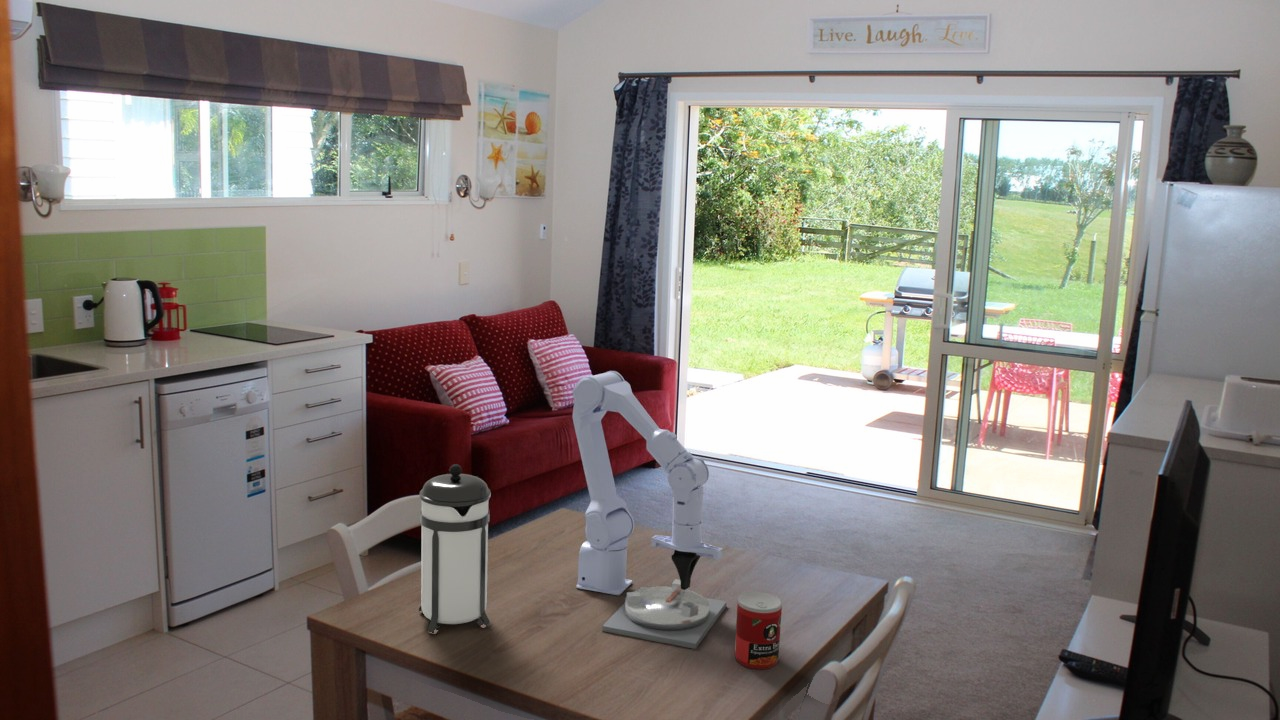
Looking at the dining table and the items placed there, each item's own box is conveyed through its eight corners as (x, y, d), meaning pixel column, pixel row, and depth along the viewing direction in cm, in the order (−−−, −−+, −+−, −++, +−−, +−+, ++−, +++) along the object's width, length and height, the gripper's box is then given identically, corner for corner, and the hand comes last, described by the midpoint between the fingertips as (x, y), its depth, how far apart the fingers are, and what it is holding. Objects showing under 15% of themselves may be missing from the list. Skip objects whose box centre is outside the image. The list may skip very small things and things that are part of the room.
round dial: (645, 635, 186) (646, 615, 185) (611, 601, 200) (612, 583, 200) (723, 623, 193) (724, 603, 192) (685, 591, 207) (686, 573, 206)
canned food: (750, 673, 176) (754, 612, 174) (725, 653, 182) (728, 595, 181) (787, 665, 179) (791, 605, 177) (761, 646, 186) (765, 588, 184)
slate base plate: (602, 631, 190) (602, 624, 190) (640, 591, 209) (640, 585, 209) (695, 648, 184) (695, 642, 184) (726, 606, 203) (726, 600, 203)
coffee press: (513, 613, 196) (516, 460, 191) (461, 644, 182) (462, 480, 177) (441, 593, 204) (442, 446, 199) (385, 622, 190) (385, 464, 185)
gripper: (729, 522, 199) (727, 589, 201) (664, 509, 206) (662, 574, 208) (714, 531, 193) (711, 600, 195) (646, 518, 200) (645, 585, 202)
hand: (685, 587), depth 201 cm, fingers closed, pressing on round dial
